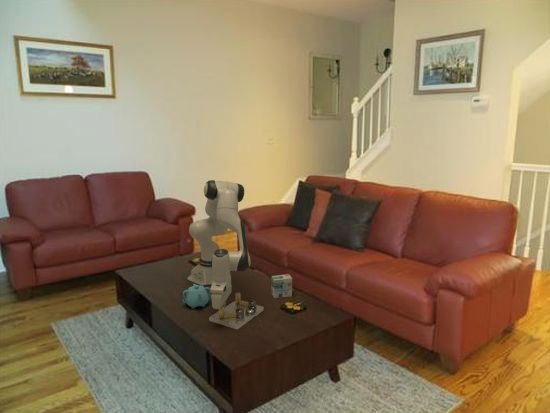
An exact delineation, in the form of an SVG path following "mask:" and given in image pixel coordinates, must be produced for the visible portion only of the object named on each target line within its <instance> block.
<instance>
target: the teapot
mask: <svg viewBox="0 0 550 413" xmlns="http://www.w3.org/2000/svg"><path fill="white" fill-rule="evenodd" d="M210 288H211V287H209V286H206V287H205V285H199V284H197V283H193V284H192V286H189V287H188V288H187V289H185V290H184V291H182V295H183V296H182V297H183V298H182V302H183V303H186V304H187V306H189V307H190V308H191V310H192V309H193V310H194V309H196V308H197V307H202V308H205V307H206V305H207V304H208V303H209V300H210V299H212V298H211V295H212V294H211V292H210ZM207 290H208V291H207ZM185 293H186V294H185Z"/></svg>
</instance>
